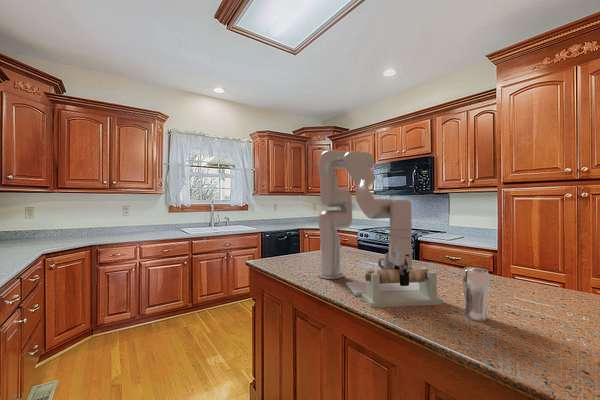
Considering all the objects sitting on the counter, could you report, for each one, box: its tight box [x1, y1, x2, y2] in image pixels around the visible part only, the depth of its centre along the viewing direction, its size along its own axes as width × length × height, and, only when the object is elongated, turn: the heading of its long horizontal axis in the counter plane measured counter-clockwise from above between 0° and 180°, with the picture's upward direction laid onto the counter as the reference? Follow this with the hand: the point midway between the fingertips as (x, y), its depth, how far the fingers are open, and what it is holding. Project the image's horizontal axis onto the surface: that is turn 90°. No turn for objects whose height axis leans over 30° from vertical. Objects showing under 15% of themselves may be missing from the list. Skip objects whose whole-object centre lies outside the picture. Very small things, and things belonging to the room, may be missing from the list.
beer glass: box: [462, 266, 490, 322], centre depth 87 cm, size 7×7×15 cm
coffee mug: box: [377, 252, 406, 270], centre depth 134 cm, size 13×10×10 cm
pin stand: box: [361, 267, 443, 308], centre depth 101 cm, size 10×26×11 cm, turn 95°
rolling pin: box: [364, 268, 427, 284], centre depth 101 cm, size 26×5×5 cm, turn 95°
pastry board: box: [345, 281, 419, 297], centre depth 114 cm, size 13×30×1 cm, turn 95°
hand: (400, 282), depth 101 cm, fingers closed on rolling pin, 4 cm apart
